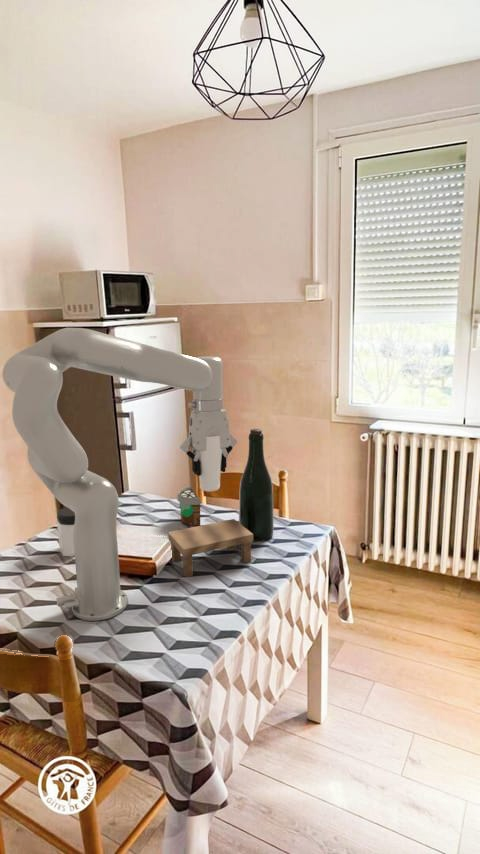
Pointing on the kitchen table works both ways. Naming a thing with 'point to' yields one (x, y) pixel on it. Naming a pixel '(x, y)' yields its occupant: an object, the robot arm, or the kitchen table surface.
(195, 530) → the footstool
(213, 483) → the drinking glass
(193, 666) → the kitchen table surface
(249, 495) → the dark green wine bottle
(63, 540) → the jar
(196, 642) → the kitchen table surface
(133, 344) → the robot arm
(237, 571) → the kitchen table surface
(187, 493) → the food container
